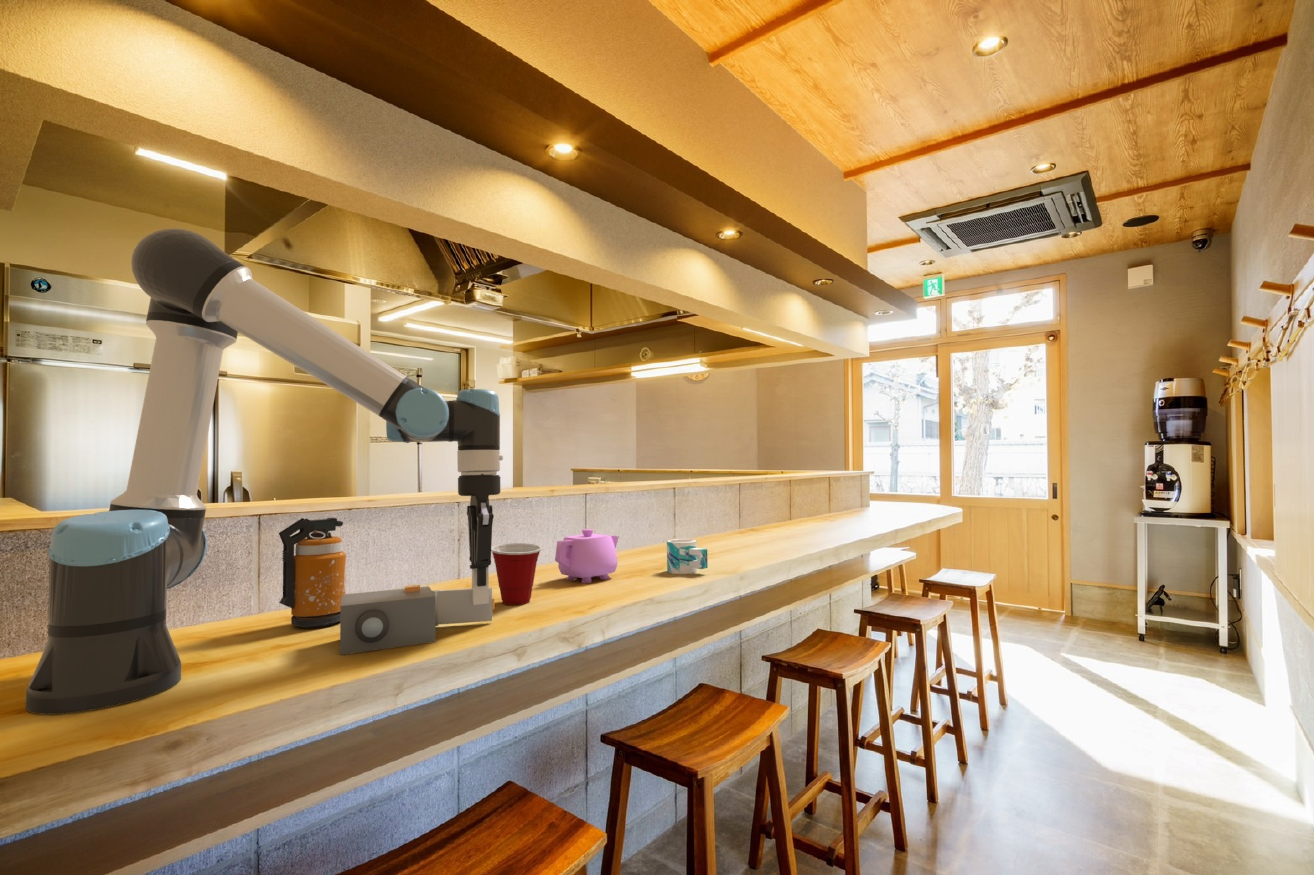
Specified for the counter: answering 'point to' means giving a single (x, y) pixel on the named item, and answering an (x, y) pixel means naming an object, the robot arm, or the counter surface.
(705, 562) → the mug
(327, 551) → the canister
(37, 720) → the counter surface
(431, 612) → the camera body
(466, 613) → the side door
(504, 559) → the plastic cup
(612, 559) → the teapot
